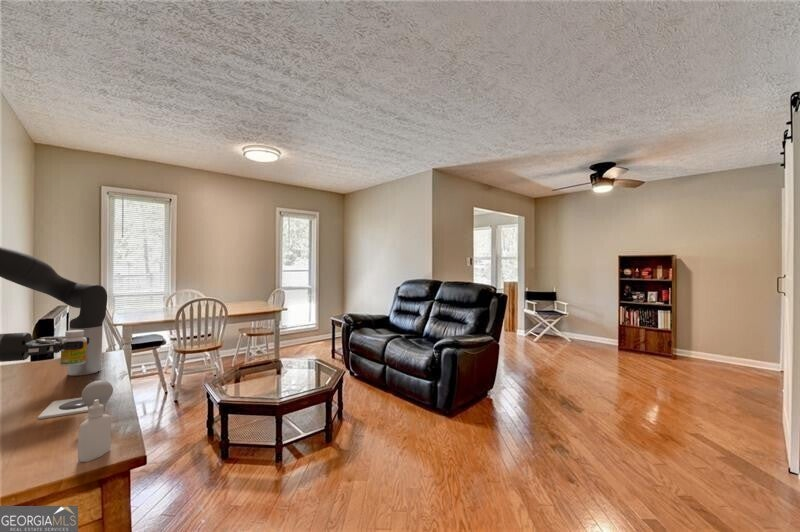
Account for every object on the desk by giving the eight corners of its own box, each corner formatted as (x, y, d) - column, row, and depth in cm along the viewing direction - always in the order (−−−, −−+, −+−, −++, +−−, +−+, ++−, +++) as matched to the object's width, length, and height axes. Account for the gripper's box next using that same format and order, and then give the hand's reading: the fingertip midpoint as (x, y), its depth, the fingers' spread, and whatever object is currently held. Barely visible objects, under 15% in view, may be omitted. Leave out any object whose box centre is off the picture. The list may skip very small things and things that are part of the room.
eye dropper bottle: (74, 457, 72) (76, 401, 72) (108, 446, 77) (109, 393, 77) (79, 465, 70) (81, 406, 70) (114, 453, 74) (116, 398, 74)
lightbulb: (76, 430, 84) (77, 386, 84) (85, 420, 89) (86, 378, 89) (108, 426, 86) (109, 382, 86) (115, 416, 92) (116, 375, 92)
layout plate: (53, 403, 99) (53, 400, 99) (110, 395, 106) (110, 393, 106) (37, 419, 89) (37, 416, 89) (102, 409, 96) (102, 407, 96)
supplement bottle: (69, 367, 96) (71, 333, 96) (55, 365, 97) (57, 331, 97) (90, 362, 101) (92, 330, 101) (76, 360, 102) (78, 328, 102)
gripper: (-10, 338, 86) (80, 334, 94) (16, 329, 98) (93, 326, 107) (-12, 368, 86) (78, 361, 94) (14, 355, 98) (92, 350, 107)
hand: (86, 342), depth 101 cm, fingers closed on supplement bottle, 5 cm apart
